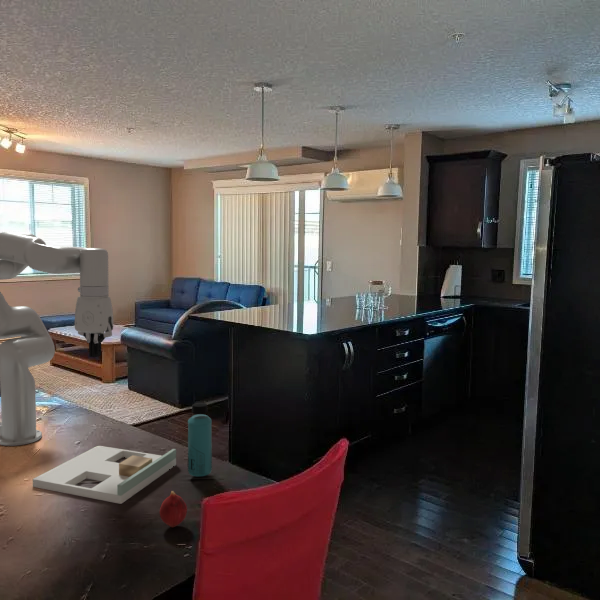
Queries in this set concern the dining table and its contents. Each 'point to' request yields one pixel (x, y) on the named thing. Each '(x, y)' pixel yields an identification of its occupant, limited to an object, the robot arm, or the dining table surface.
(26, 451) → the dining table surface
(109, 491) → the board
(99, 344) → the robot arm
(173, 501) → the onion
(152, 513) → the dining table surface
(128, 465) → the block
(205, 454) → the beverage bottle
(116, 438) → the dining table surface
